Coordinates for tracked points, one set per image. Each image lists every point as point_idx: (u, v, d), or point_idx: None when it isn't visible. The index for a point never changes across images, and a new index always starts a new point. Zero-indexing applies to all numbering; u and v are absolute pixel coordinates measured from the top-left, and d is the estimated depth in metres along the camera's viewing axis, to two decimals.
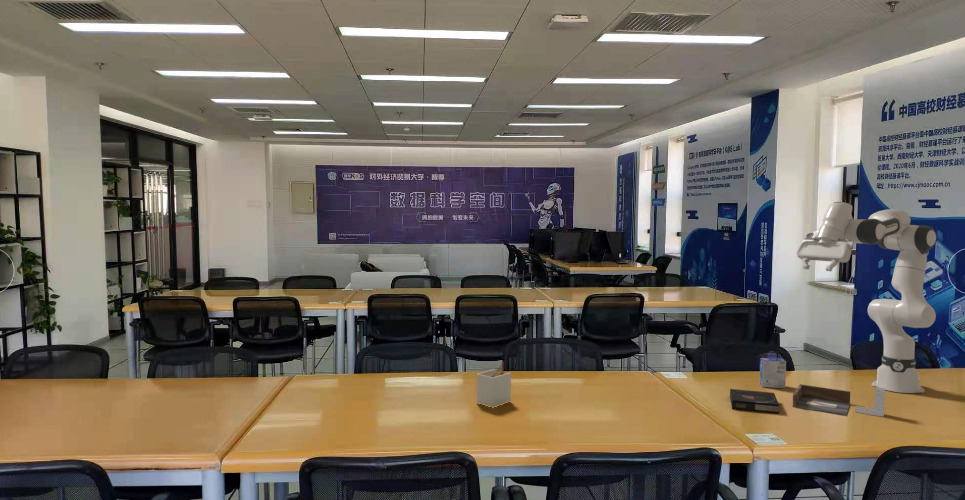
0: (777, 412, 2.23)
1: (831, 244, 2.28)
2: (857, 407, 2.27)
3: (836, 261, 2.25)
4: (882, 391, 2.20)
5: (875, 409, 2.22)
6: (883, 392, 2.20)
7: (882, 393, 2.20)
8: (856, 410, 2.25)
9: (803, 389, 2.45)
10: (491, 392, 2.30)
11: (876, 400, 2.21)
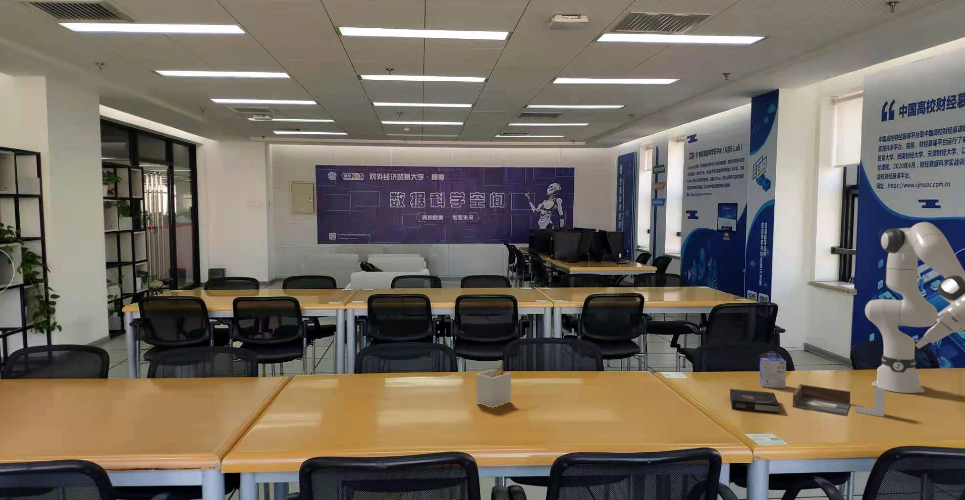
0: (777, 412, 2.23)
1: None
2: (857, 407, 2.27)
3: None
4: (882, 391, 2.20)
5: (875, 409, 2.22)
6: (883, 392, 2.20)
7: (882, 393, 2.20)
8: (856, 410, 2.25)
9: (803, 389, 2.45)
10: (491, 392, 2.29)
11: (876, 400, 2.21)
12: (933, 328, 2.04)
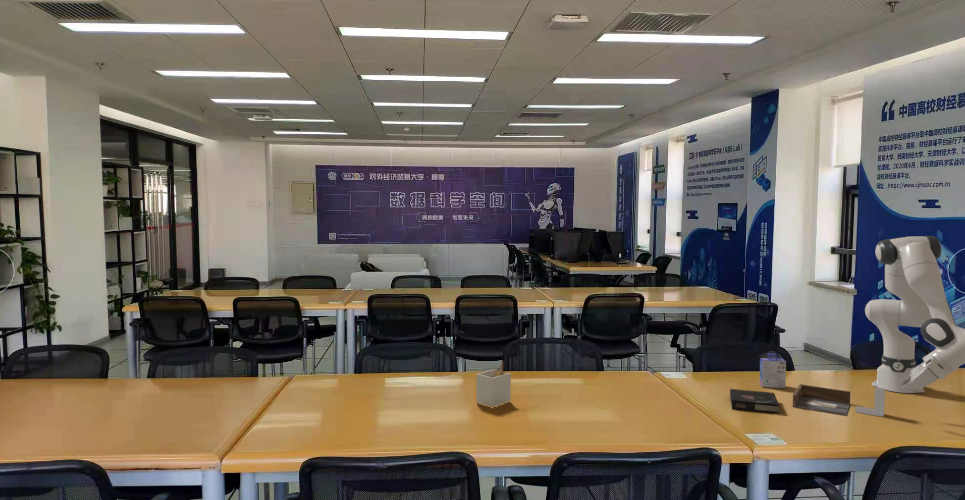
0: (777, 412, 2.23)
1: None
2: (857, 407, 2.27)
3: None
4: (882, 391, 2.20)
5: (875, 409, 2.22)
6: (883, 392, 2.20)
7: (882, 393, 2.20)
8: (856, 410, 2.25)
9: (803, 389, 2.45)
10: (491, 392, 2.29)
11: (876, 400, 2.21)
12: (920, 375, 2.07)
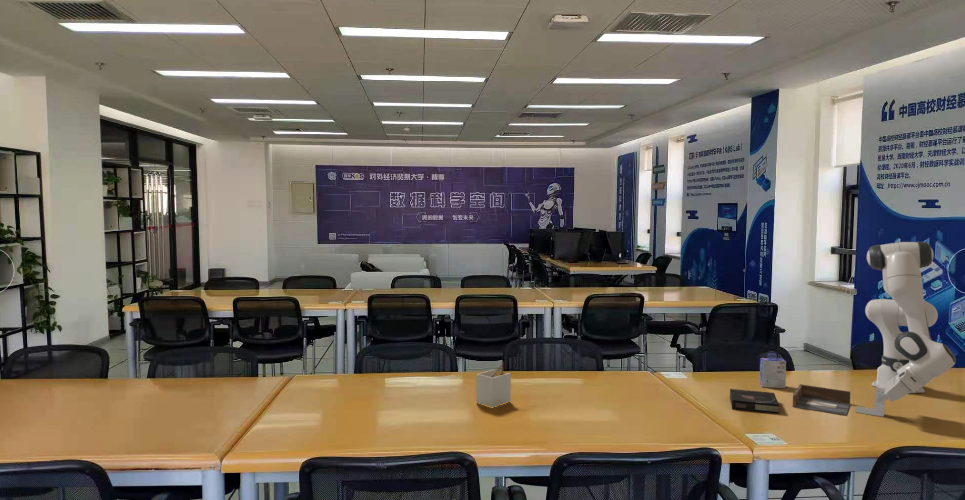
0: (777, 412, 2.23)
1: None
2: (857, 407, 2.27)
3: None
4: (882, 391, 2.20)
5: (875, 409, 2.22)
6: (883, 392, 2.20)
7: (882, 393, 2.20)
8: (856, 410, 2.25)
9: (803, 389, 2.45)
10: (491, 392, 2.29)
11: None
12: (893, 387, 2.12)
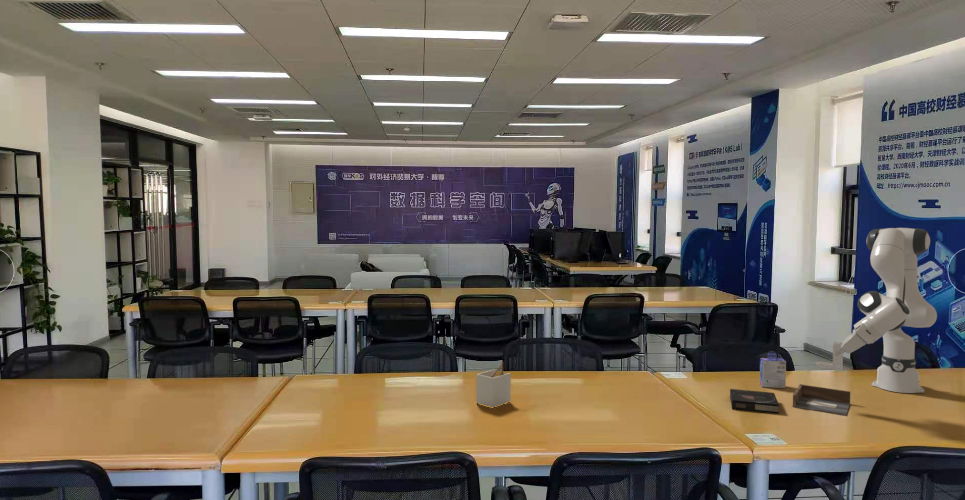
0: (777, 412, 2.23)
1: None
2: (817, 362, 2.34)
3: None
4: (840, 345, 2.27)
5: (833, 363, 2.29)
6: None
7: (840, 347, 2.27)
8: (816, 365, 2.32)
9: (803, 389, 2.45)
10: (491, 392, 2.29)
11: None
12: (849, 340, 2.19)
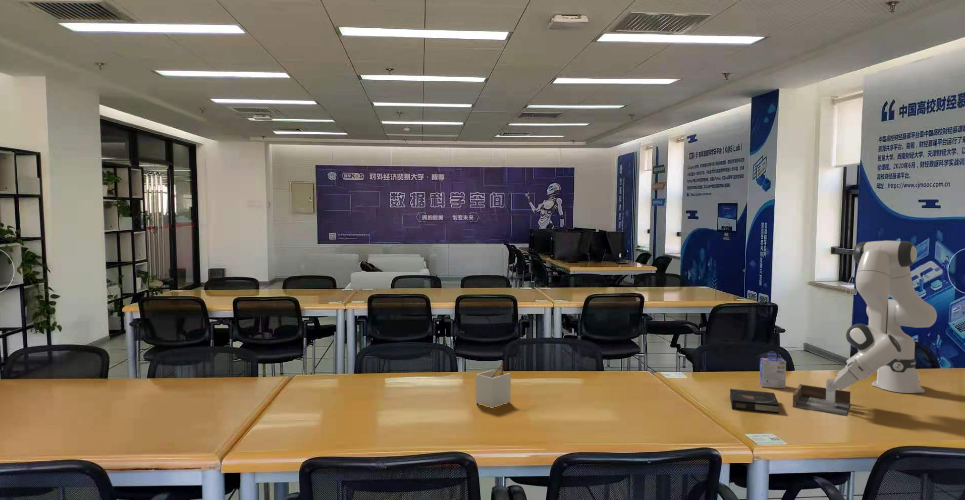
0: (777, 412, 2.23)
1: None
2: (810, 398, 2.36)
3: None
4: None
5: (826, 400, 2.31)
6: None
7: None
8: (809, 401, 2.35)
9: (803, 389, 2.45)
10: (491, 392, 2.29)
11: (827, 391, 2.31)
12: (841, 376, 2.21)
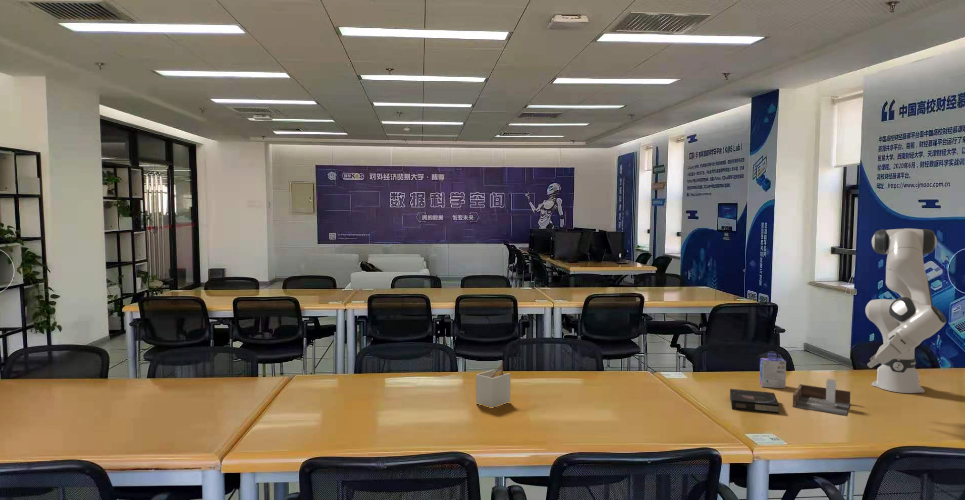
0: (777, 412, 2.23)
1: None
2: (810, 398, 2.36)
3: None
4: (833, 383, 2.30)
5: (826, 400, 2.31)
6: (834, 384, 2.29)
7: (833, 385, 2.29)
8: (809, 401, 2.35)
9: (803, 389, 2.45)
10: (490, 393, 2.29)
11: (827, 391, 2.31)
12: (883, 350, 2.13)
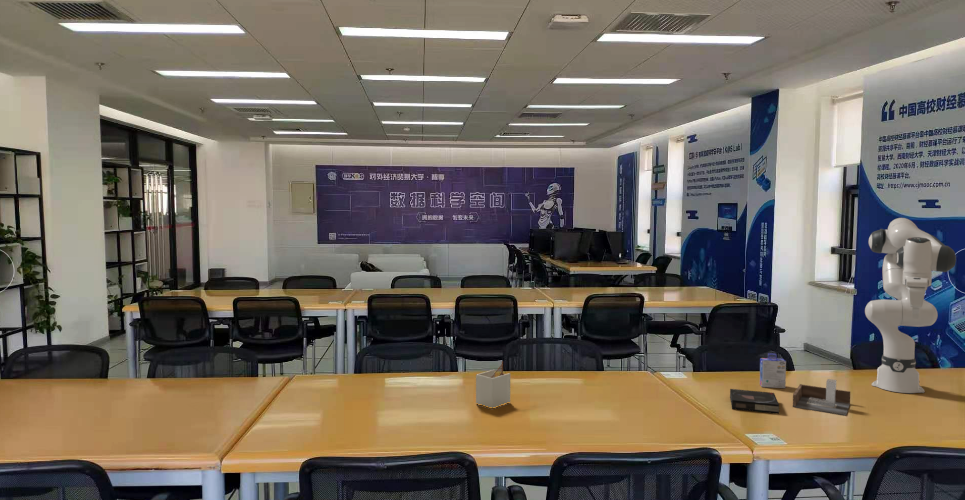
0: (777, 412, 2.23)
1: None
2: (810, 398, 2.36)
3: None
4: (833, 383, 2.30)
5: (826, 400, 2.31)
6: (834, 384, 2.29)
7: (833, 385, 2.29)
8: (809, 401, 2.35)
9: (803, 389, 2.45)
10: (490, 393, 2.29)
11: (827, 391, 2.31)
12: (910, 296, 2.16)
